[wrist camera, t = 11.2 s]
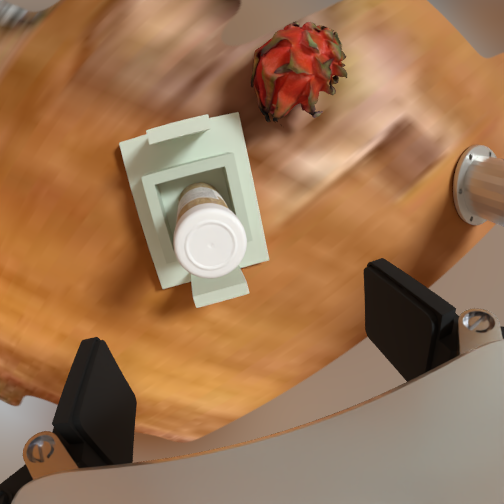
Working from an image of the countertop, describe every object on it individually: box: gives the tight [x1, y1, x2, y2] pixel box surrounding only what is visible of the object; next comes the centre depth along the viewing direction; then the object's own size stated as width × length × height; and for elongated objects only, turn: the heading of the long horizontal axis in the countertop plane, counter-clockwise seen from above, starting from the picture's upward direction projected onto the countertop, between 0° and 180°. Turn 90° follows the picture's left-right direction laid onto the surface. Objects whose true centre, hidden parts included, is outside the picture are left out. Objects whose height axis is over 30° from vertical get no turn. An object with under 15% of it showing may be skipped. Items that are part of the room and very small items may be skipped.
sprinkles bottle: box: [173, 182, 247, 279], centre depth 25 cm, size 5×5×14 cm
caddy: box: [119, 112, 269, 308], centre depth 29 cm, size 12×16×7 cm
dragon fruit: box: [251, 22, 347, 126], centre depth 27 cm, size 8×8×12 cm
